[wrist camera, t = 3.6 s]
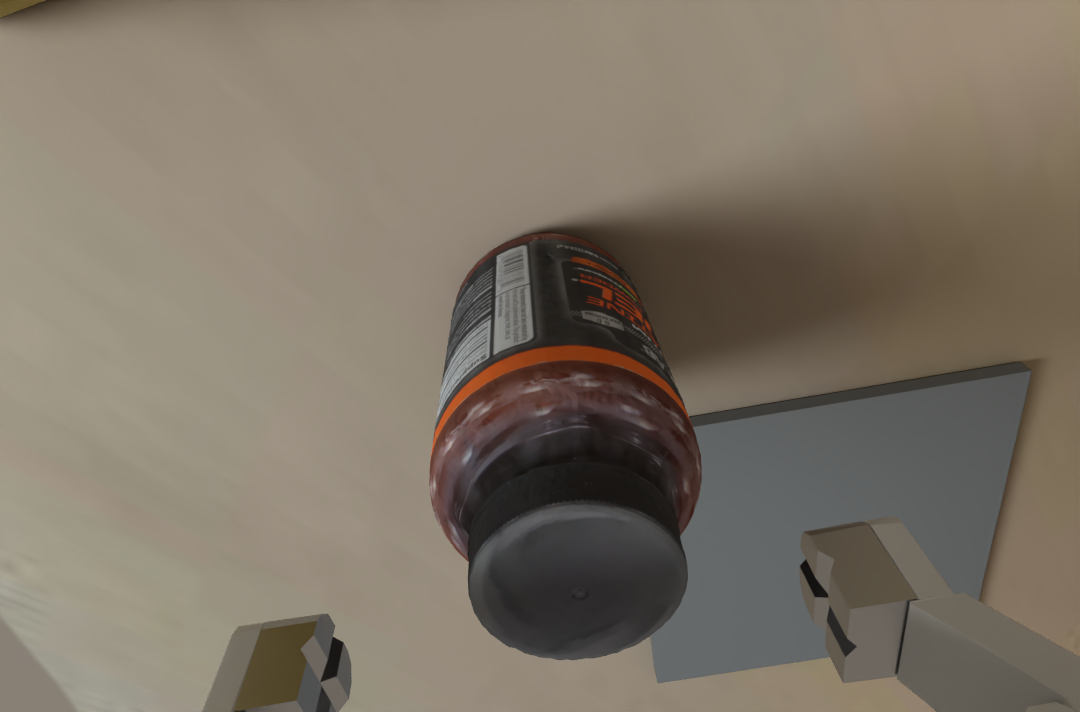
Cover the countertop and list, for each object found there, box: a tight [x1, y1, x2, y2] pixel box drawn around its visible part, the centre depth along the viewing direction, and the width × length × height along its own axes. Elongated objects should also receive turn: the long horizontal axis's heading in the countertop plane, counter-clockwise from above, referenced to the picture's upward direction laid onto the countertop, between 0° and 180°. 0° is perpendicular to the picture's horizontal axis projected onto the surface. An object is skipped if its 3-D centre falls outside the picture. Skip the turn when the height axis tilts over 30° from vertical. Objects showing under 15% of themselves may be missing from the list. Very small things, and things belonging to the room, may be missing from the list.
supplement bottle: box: [429, 232, 702, 660], centre depth 17 cm, size 6×6×11 cm
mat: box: [650, 362, 1032, 683], centre depth 27 cm, size 14×14×1 cm
